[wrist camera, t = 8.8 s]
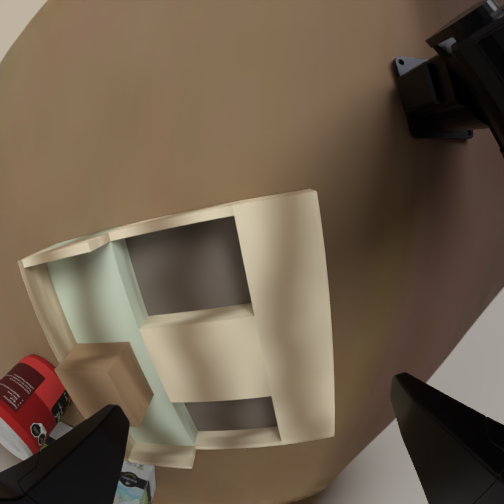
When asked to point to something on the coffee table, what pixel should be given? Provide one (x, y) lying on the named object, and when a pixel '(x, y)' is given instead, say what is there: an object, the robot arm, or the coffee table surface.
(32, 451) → the canned food
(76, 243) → the board
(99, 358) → the walnut block
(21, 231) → the coffee table surface
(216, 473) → the coffee table surface
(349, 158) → the coffee table surface
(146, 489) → the tea box
